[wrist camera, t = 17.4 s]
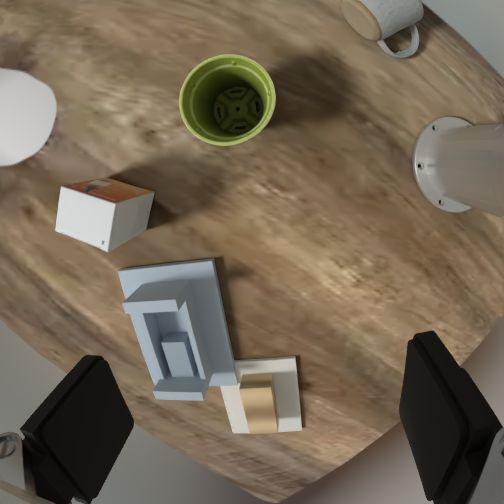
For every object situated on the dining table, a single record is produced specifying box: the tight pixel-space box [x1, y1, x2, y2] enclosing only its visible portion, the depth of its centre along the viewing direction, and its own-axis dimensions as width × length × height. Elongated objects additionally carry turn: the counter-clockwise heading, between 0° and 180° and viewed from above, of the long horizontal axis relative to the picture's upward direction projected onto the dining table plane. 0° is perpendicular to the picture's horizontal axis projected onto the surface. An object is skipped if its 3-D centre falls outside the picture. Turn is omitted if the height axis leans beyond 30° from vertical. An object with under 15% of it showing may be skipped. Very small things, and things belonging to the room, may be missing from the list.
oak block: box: [239, 373, 279, 434], centre depth 46 cm, size 10×4×4 cm, turn 9°
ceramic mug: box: [340, 0, 424, 58], centre depth 28 cm, size 11×8×8 cm
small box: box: [56, 178, 155, 252], centre depth 36 cm, size 8×6×10 cm
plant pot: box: [179, 54, 276, 146], centre depth 33 cm, size 9×9×9 cm
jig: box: [118, 258, 238, 400], centre depth 42 cm, size 20×14×8 cm
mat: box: [220, 356, 302, 433], centre depth 48 cm, size 12×16×1 cm
